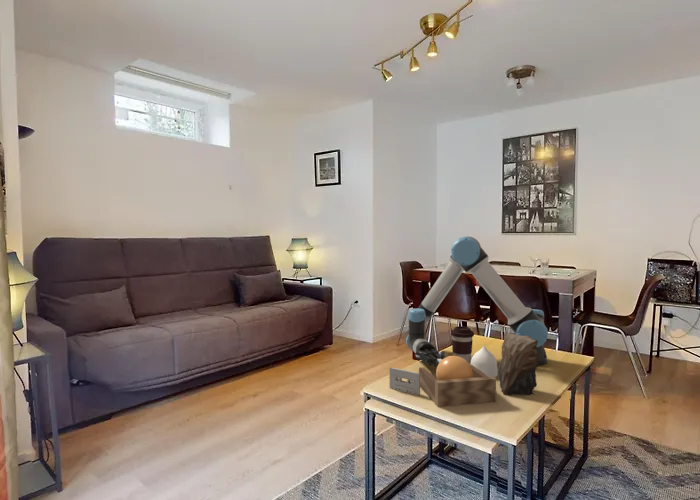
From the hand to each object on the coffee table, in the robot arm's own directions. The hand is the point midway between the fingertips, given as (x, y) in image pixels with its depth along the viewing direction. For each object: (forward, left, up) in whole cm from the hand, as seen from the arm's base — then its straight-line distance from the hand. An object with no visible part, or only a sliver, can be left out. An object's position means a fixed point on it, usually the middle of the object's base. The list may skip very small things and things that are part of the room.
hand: (445, 367), depth 158 cm
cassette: (+17, +3, -7) cm, 19 cm away
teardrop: (-20, -9, -7) cm, 23 cm away
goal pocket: (0, +8, -7) cm, 11 cm away
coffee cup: (-18, -25, -7) cm, 32 cm away
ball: (-1, +7, 0) cm, 7 cm away
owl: (-22, +9, -7) cm, 25 cm away
